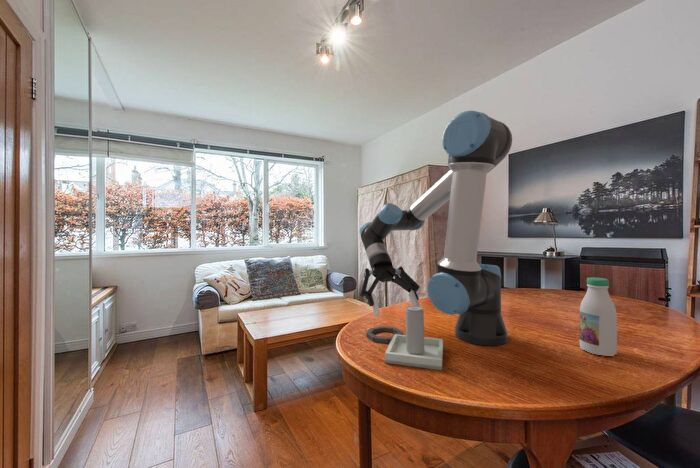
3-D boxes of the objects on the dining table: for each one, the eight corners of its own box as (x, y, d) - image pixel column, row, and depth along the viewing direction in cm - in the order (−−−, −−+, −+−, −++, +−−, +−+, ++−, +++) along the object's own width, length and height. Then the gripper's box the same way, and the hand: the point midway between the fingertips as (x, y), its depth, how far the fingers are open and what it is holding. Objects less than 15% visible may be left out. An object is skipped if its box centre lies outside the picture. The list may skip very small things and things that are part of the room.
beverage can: (427, 354, 77) (426, 309, 77) (410, 356, 76) (409, 310, 76) (420, 347, 82) (419, 305, 82) (403, 348, 81) (403, 306, 81)
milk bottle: (607, 347, 81) (607, 276, 81) (623, 359, 74) (623, 281, 73) (574, 344, 84) (574, 275, 83) (586, 355, 76) (586, 280, 76)
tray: (443, 347, 83) (443, 338, 83) (441, 370, 70) (441, 360, 70) (394, 342, 88) (394, 334, 88) (385, 362, 75) (384, 353, 75)
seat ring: (404, 331, 96) (404, 328, 96) (398, 344, 86) (398, 340, 86) (372, 328, 100) (372, 325, 100) (363, 340, 89) (363, 336, 89)
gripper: (407, 263, 109) (429, 314, 95) (343, 267, 102) (357, 322, 88) (414, 250, 104) (438, 302, 90) (347, 253, 97) (362, 310, 83)
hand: (398, 312), depth 89 cm, fingers open, 13 cm apart
